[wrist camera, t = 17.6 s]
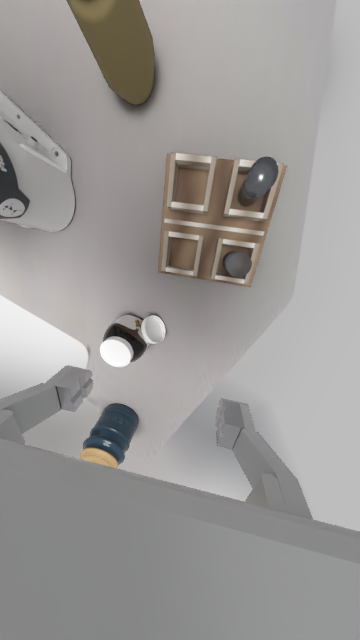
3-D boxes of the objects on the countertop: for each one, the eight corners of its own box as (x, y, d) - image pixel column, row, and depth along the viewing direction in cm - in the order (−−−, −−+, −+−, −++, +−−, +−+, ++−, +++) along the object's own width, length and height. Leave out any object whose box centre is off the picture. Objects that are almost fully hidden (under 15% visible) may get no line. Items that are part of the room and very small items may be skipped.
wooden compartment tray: (159, 271, 39) (144, 279, 29) (168, 156, 30) (151, 117, 21) (249, 285, 37) (262, 298, 28) (284, 168, 29) (320, 131, 19)
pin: (233, 192, 30) (242, 172, 22) (252, 176, 29) (270, 148, 21) (243, 211, 31) (256, 199, 23) (262, 196, 30) (283, 177, 21)
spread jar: (114, 327, 46) (87, 351, 36) (134, 296, 42) (109, 313, 31) (150, 352, 48) (134, 382, 37) (173, 325, 44) (162, 350, 33)
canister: (146, 418, 59) (123, 481, 43) (126, 432, 65) (100, 494, 48) (116, 396, 57) (80, 455, 41) (98, 413, 62) (60, 471, 46)
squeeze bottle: (161, 37, 25) (75, -355, 9) (160, 114, 28) (96, -65, 12) (109, 41, 26) (-57, -309, 10) (114, 115, 29) (-3, -51, 13)
